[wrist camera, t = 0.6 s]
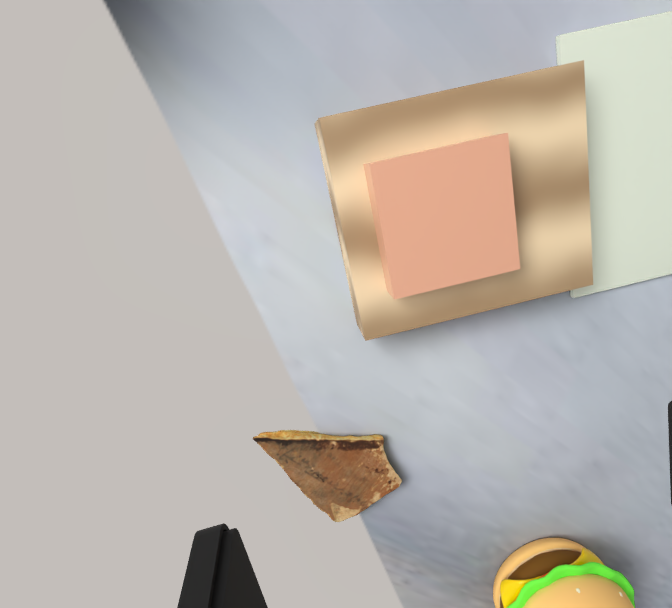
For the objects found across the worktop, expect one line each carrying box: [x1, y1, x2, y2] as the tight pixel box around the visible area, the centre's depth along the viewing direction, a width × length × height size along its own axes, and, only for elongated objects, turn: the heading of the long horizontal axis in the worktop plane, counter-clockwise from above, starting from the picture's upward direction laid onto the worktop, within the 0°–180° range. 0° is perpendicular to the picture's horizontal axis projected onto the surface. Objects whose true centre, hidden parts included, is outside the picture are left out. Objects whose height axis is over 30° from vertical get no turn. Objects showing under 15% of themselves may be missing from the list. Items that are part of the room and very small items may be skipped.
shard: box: [253, 430, 402, 522], centre depth 36 cm, size 11×8×2 cm
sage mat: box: [556, 11, 672, 298], centre depth 33 cm, size 18×14×1 cm
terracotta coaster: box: [363, 133, 520, 300], centre depth 28 cm, size 8×8×2 cm
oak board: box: [315, 60, 593, 341], centre depth 30 cm, size 14×16×4 cm
